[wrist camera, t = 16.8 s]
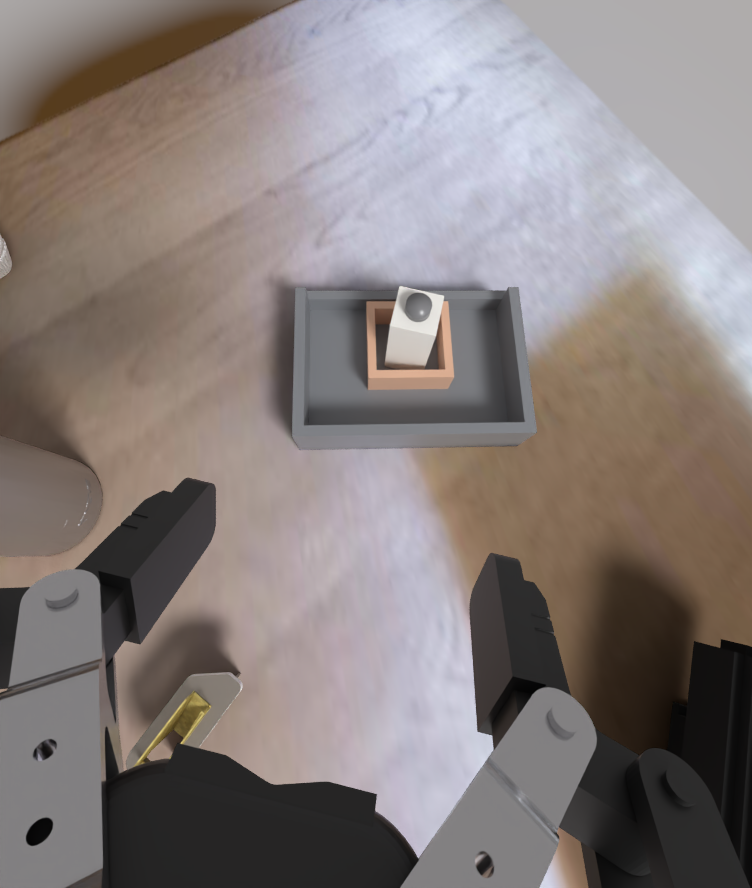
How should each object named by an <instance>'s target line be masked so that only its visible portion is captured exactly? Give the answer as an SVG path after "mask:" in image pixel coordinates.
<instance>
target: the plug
mask: <svg viewBox="0 0 752 888" xmlns="http://www.w3.org/2000/svg"><path fill="white" fill-rule="evenodd" d="M443 301H444V296H443V295H438V294H434V293H429V292H425V291H420V290H416V289H411V288H407V287H402V286H400V287H399V291H398V295H397V299H396V303H395V307H394V311H393V315H392V320H391V324H390V329H389V336H388V344H387V351H386V358H385V365H384V366H386V367H390V368H395V369H399V370H424V368H425V366H426V363H427V360H428V357H429V354H430V352H431V349H432V346H433V343H434V340H435V337H436V334H437V329H438V324H439V319H440V315H441V310H442V305H443Z"/></svg>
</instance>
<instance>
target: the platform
mask: <svg viewBox="0 0 752 888" xmlns="http://www.w3.org/2000/svg"><path fill="white" fill-rule="evenodd" d="M240 674H241V673H240V672H239V673H238V674H237V675H236V676H234V675H233V674H232V673H230V672H223V673H206V674H192V675H191V676H189V677H188V678H187V679H186V680H185V681H184V682H183V684H182V685H181V686H180V688H179V689H178V690H177V692H176V693H175V694H174V695H173V697H172V698H171V699H170V701H169V702H168V703H167V705H166V706H165V707H164V708H163V710H162V711H161V712H160V714H159V715H158V716H157V717H156V719H155V720H154V721H153V723H152V724H151V725H150V727H149V728H148V729H147V730H146V732H145V733H144V734H143V736H142V737H141V738H140V739H139V741H138V742H137V743H136V745H135V746H134V747H133V749H132V750H131V751H130V753H129V755H128V757H127V760H126V767H127V770H128V769H130V768H132V767H135V766H138V765H141V764H144V763H147V762H150V760H149V759H148V758H147V756H148V755H149V753H150V752H151V750H152V749H154V748H155V747H156V746H157V745H158V744H159V743H160V742H161V741H162V740H163V739H164V738H165V737H166V736H167V735H168V734H169V733H170V732H171V731H172V730H173V729H174V730H175V731H176V732H177V733H178V734H179V735H180V736H182V737H183V738H184V739H183V741H182V742H181V743H180V744H184V745H188V746H192V747H195V748H199V747H200V746H201V744H202V743H203V741H204V740H205V739H206V737H207V736H208V735H209V733H210V732H211V731H212V729H213V728H214V726H215V725H216V724H217V722H218V721H219V720H220V718H221V717H222V716H223V714H224V713H225V711H226V710H227V709H228V707H229V706H230V705H231V703H232V702H233V701H234V699H235V698H236V697H237V695H238V694H239V692H240V691H241V690H242V682H241V681H240V680H239V679H238V677H239V675H240ZM208 707H209V708H208ZM207 708H208V709H207ZM206 709H207V710H206ZM180 717H181V718H180ZM171 756H172V755H171ZM170 758H171V757H170ZM170 758H169V759H170Z"/></svg>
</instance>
